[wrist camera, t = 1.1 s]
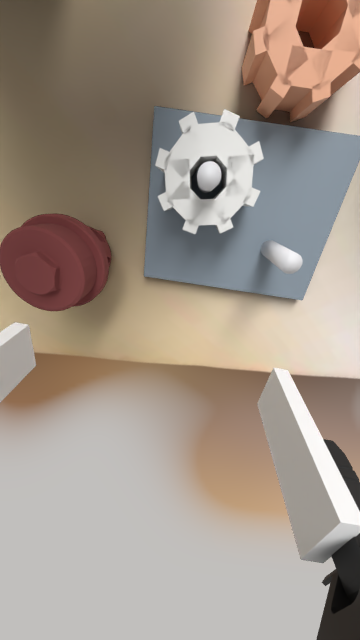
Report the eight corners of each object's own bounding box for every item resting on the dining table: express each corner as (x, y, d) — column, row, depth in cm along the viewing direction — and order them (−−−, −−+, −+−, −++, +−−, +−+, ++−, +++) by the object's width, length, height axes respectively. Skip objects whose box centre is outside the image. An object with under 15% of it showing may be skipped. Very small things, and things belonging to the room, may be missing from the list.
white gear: (160, 132, 24) (151, 114, 20) (254, 125, 24) (269, 105, 19) (167, 229, 29) (160, 235, 24) (246, 227, 28) (256, 232, 23)
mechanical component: (108, 201, 29) (136, 275, 33) (41, 224, 31) (75, 292, 35) (53, 200, 18) (105, 311, 23) (-44, 235, 20) (20, 332, 24)
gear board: (156, 110, 25) (134, 64, 16) (359, 140, 25) (442, 108, 16) (146, 273, 33) (127, 297, 25) (298, 296, 33) (332, 328, 25)
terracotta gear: (259, -30, 20) (278, -104, 15) (370, -14, 20) (424, -83, 15) (233, 114, 25) (241, 92, 20) (323, 127, 25) (354, 108, 20)
